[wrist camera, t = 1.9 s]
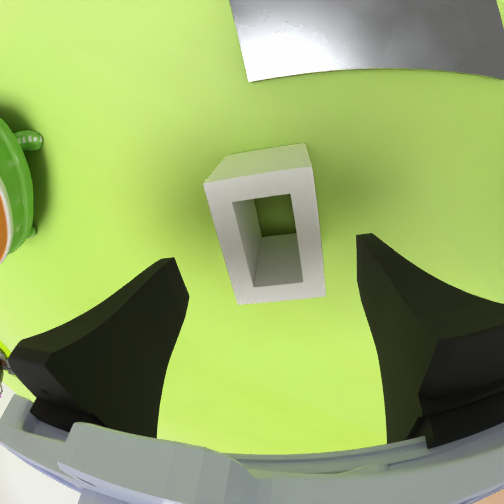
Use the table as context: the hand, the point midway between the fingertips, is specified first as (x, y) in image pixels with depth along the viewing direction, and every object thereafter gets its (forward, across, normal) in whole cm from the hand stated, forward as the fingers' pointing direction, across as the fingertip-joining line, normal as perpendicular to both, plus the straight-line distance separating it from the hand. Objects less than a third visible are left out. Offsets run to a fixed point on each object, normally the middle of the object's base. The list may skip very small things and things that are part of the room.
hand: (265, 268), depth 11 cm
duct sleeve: (+7, 0, 0) cm, 7 cm away
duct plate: (+7, -8, -14) cm, 18 cm away
